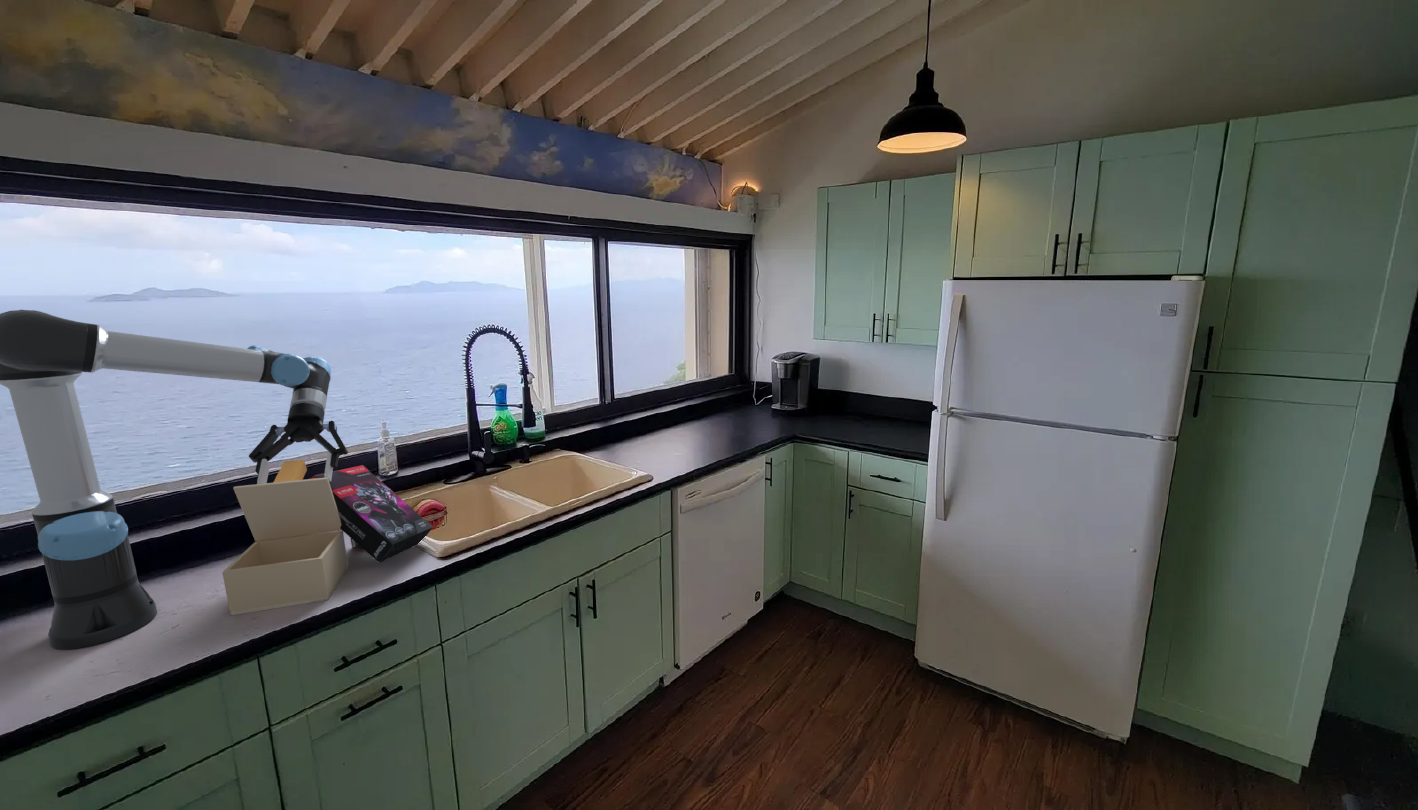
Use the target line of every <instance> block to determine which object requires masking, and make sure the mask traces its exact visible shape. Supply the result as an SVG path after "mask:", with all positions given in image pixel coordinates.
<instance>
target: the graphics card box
mask: <svg viewBox="0 0 1418 810" xmlns="http://www.w3.org/2000/svg"><path fill="white" fill-rule="evenodd" d="M324 474H325V472H324V473H323V472H322V473H319V474H315V475H313V476H311V477H310V478H309V479H316V478H325V477H324ZM329 483H330V487H331V490H332V493H333V496H334V500H335V503H336V506H337V509H338V513H339V516H340V519H341V527H340V529H341V531H343V533H345V535H347V536H348V537H349V538H350V540H351V539H353V540H354V541H355V542H356V543H357V544H358V545H359V546H360V547H362V548H363V549H364V550H363V551H365V552H366V553H367V554H368V555H369V556H370V557H371V558H372V559H374V560H375V561H376V563H378V564H379V563H382V562H384V561H386V560H388V559H391V558H393V557H395V556H397V555H399V554H401V553H403V552H405V551H407V550H409V549H412V548H414V547H416V546H418V545H419V544H418V543H419V542H420V541H421V540H422V539H423V538H424V537H425V536H426V537H427V536H428V535H429V533H430V532H431V531H432V529H433V525H432V524H430V523H429V522H428V521H427V520H426V519H424V517H422V516H421V515H420V514H419V513H418V512H416V511H415V509H414V508H412V507H411V506H410V505H409V504H408V503H407V502H405V501H404V500H403V499H402V498H401V497H400V496H399V495H397V494H396V493H395V492H394V491H393V490H392V489H391V488H390V487H388V486H387V485H386V484H385V483H384V482H383V481H381V480H380V479H379V478H378V477H377V476H375V474H374V473H372V472H371V471H370V470H369V469H368V468H367V467H366V466H364V465H362V464H361V465H358V466H353V467H349V468H344V469H343V468H342V469H340V470H338V469H337V470H333V472H332V479H331V481H329ZM426 537H425V538H426ZM425 538H424V539H425ZM424 539H423V540H424Z"/></svg>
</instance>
